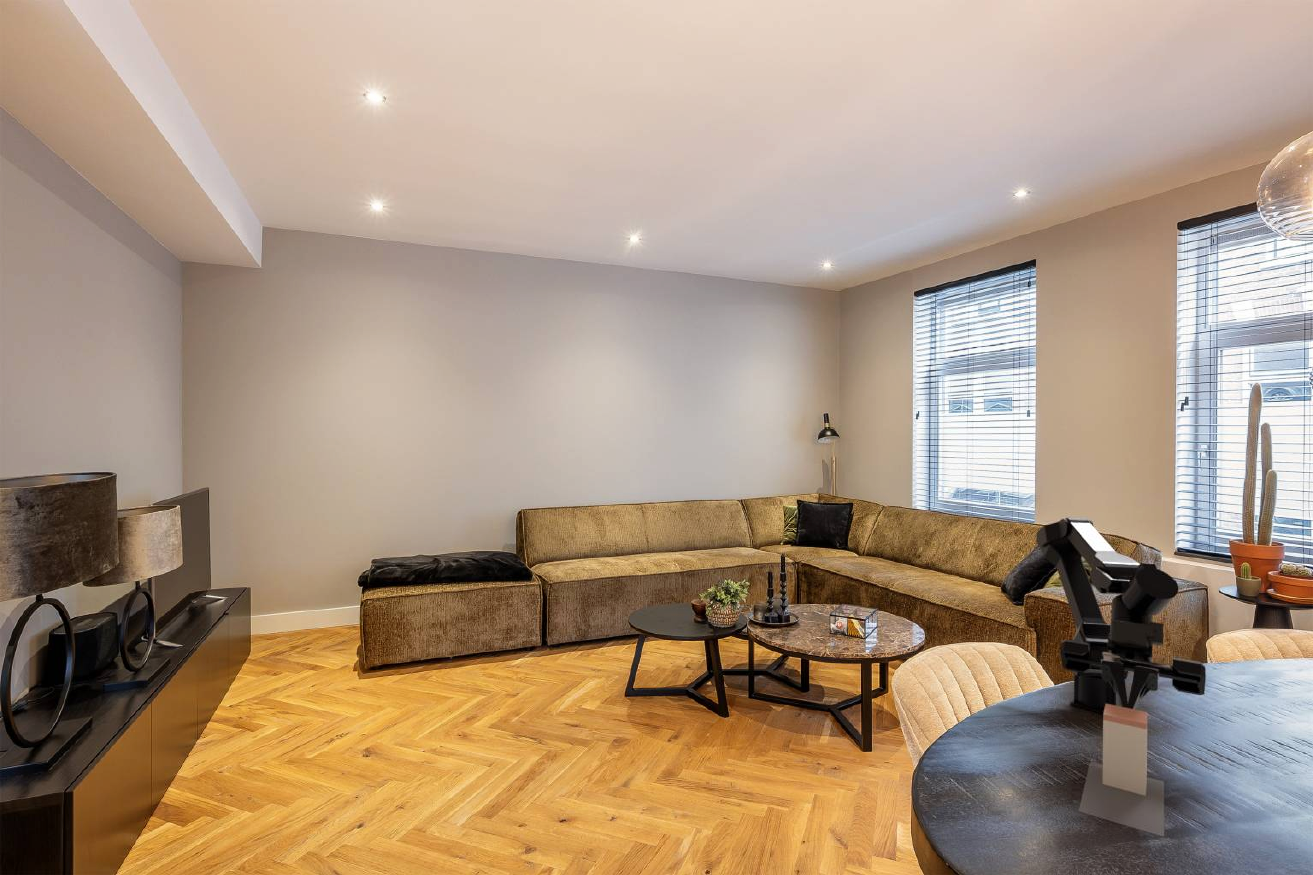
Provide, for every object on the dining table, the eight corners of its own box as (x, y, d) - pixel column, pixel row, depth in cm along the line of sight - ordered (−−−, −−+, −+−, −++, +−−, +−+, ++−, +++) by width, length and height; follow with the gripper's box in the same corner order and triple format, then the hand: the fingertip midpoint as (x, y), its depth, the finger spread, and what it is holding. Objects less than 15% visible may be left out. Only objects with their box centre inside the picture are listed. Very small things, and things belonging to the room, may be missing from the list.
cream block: (1104, 770, 98) (1105, 703, 98) (1146, 781, 95) (1147, 712, 95) (1102, 783, 94) (1103, 714, 94) (1145, 795, 91) (1146, 723, 91)
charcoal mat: (1089, 765, 101) (1089, 762, 101) (1164, 785, 95) (1164, 781, 95) (1078, 814, 87) (1078, 810, 87) (1164, 840, 82) (1164, 836, 82)
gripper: (1062, 591, 111) (1052, 674, 102) (1205, 609, 100) (1209, 705, 91) (1067, 627, 117) (1058, 708, 109) (1202, 649, 106) (1205, 741, 97)
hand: (1127, 715), depth 101 cm, fingers closed
